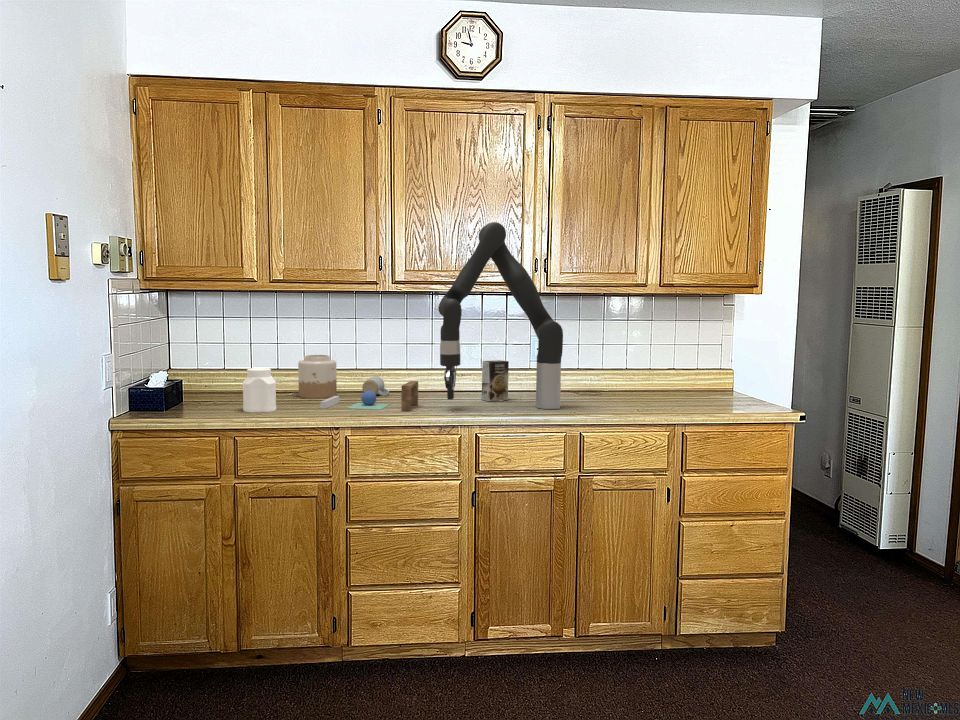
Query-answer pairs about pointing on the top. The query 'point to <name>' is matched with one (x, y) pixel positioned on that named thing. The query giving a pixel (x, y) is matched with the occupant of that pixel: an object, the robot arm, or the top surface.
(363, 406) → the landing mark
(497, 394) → the coffee box
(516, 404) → the top surface
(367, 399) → the ball
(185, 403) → the top surface
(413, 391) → the bridge
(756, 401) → the top surface
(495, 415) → the top surface
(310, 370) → the vase
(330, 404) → the wall
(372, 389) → the ceramic mug
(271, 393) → the jar
